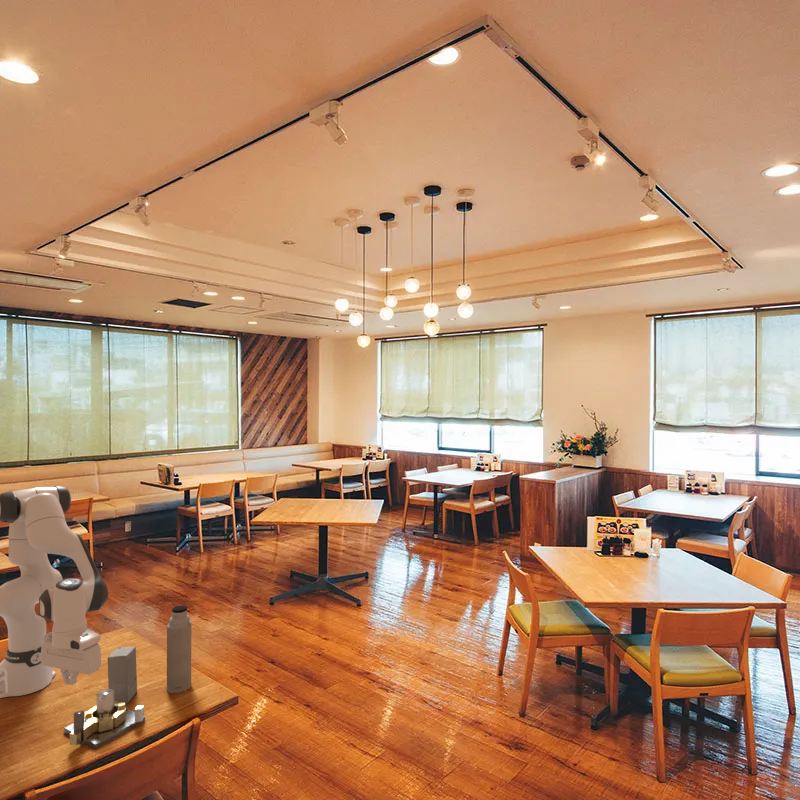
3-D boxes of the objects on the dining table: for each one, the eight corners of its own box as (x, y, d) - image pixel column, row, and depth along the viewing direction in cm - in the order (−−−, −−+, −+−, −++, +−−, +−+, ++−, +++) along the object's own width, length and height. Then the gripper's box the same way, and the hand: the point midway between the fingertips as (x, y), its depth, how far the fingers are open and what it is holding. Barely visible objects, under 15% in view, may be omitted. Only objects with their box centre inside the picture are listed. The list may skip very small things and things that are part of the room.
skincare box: (128, 704, 183) (128, 656, 183) (105, 705, 182) (106, 657, 182) (138, 690, 191) (138, 645, 191) (117, 691, 190) (117, 645, 190)
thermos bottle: (162, 693, 189) (163, 612, 189) (172, 681, 197) (172, 603, 197) (186, 693, 189) (186, 612, 189) (194, 681, 197) (194, 603, 197)
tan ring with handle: (104, 708, 176) (104, 683, 176) (133, 713, 174) (133, 688, 174) (57, 741, 160) (57, 714, 160) (88, 747, 157) (89, 719, 157)
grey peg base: (64, 732, 167) (64, 698, 167) (114, 707, 181) (114, 675, 181) (98, 751, 158) (98, 714, 158) (148, 722, 172) (148, 689, 172)
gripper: (34, 636, 162) (34, 682, 162) (86, 645, 156) (86, 694, 156) (53, 627, 168) (54, 672, 168) (104, 636, 162) (105, 683, 161)
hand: (70, 683), depth 162 cm, fingers closed
